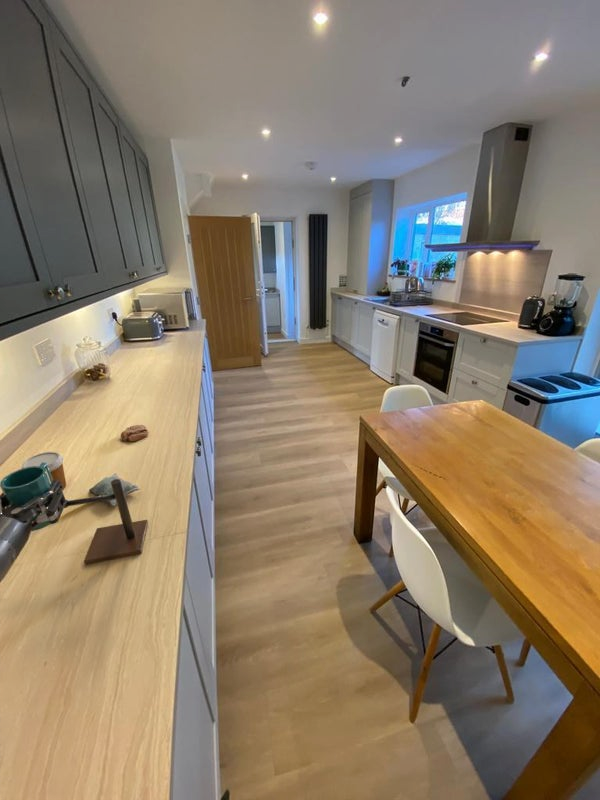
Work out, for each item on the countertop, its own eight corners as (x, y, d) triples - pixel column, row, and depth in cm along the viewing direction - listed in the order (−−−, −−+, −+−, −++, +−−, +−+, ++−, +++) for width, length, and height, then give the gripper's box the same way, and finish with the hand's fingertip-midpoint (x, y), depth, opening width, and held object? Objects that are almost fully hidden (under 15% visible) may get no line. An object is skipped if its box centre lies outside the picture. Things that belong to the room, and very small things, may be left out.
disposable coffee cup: (79, 491, 97) (67, 457, 92) (42, 509, 90) (27, 474, 85) (65, 479, 102) (53, 447, 97) (29, 496, 95) (14, 462, 90)
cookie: (149, 427, 133) (147, 420, 132) (148, 439, 124) (147, 432, 123) (122, 431, 130) (120, 425, 128) (119, 444, 121) (118, 437, 119)
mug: (53, 527, 61) (36, 485, 57) (12, 534, 59) (-9, 491, 55) (73, 491, 70) (60, 452, 66) (38, 496, 69) (22, 457, 65)
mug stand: (148, 522, 86) (134, 466, 78) (141, 553, 77) (125, 493, 69) (84, 534, 82) (63, 476, 75) (69, 567, 73) (44, 506, 66)
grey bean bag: (118, 480, 102) (114, 467, 99) (141, 493, 96) (138, 480, 94) (89, 496, 95) (85, 483, 93) (113, 512, 89) (108, 498, 87)
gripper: (32, 528, 48) (72, 464, 63) (-88, 548, 45) (-16, 476, 60) (48, 563, 51) (83, 495, 66) (-63, 584, 48) (0, 507, 63)
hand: (36, 486), depth 63 cm, fingers closed on mug, 6 cm apart
